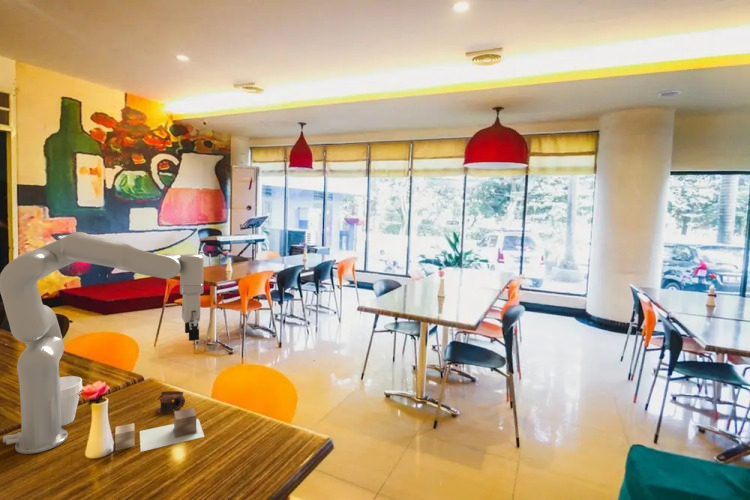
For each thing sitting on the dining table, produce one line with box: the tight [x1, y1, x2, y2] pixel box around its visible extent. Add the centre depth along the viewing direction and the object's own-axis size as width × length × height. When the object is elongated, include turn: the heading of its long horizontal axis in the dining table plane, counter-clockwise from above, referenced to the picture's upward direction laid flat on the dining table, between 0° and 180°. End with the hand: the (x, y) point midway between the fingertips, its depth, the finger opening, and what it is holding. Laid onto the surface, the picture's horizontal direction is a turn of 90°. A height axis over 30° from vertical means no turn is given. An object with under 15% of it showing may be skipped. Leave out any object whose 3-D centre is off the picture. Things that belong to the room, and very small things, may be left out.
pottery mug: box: [156, 390, 186, 415], centre depth 149 cm, size 12×10×8 cm
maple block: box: [114, 422, 136, 451], centre depth 125 cm, size 5×5×6 cm
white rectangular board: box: [139, 418, 205, 452], centre depth 132 cm, size 18×13×1 cm
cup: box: [60, 375, 84, 427], centre depth 137 cm, size 12×12×14 cm
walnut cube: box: [173, 407, 197, 437], centre depth 134 cm, size 6×6×6 cm
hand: (191, 336), depth 144 cm, fingers open, 9 cm apart
